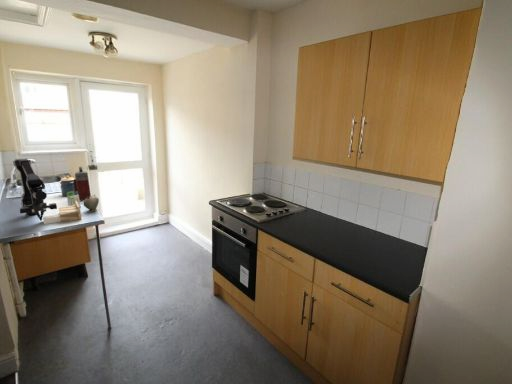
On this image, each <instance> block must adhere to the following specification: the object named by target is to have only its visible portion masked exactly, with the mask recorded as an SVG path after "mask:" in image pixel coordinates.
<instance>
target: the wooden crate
mask: <svg viewBox="0 0 512 384" xmlns="http://www.w3.org/2000/svg"><path fill="white" fill-rule="evenodd" d="M80 206H81V205H80ZM80 206H79V204H78V202H77V201H75V205H73V206H69V205H67V206H59V207H58V211H59V213H60V217H61V223H62V222H64V223H65V222H68V221H75V220H82V214H81V208H80ZM59 213H58V214H59Z"/></svg>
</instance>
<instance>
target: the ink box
mask: <svg viewBox="0 0 512 384" xmlns="http://www.w3.org/2000/svg"><path fill="white" fill-rule="evenodd" d="M69 193H73V194H70V195H69ZM66 197H67V206H73V205H75V201H77V202H78V204H79V206H80V209H81V200H79V195H78V194H77V195H74V191H71V192H67V196H66Z"/></svg>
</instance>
